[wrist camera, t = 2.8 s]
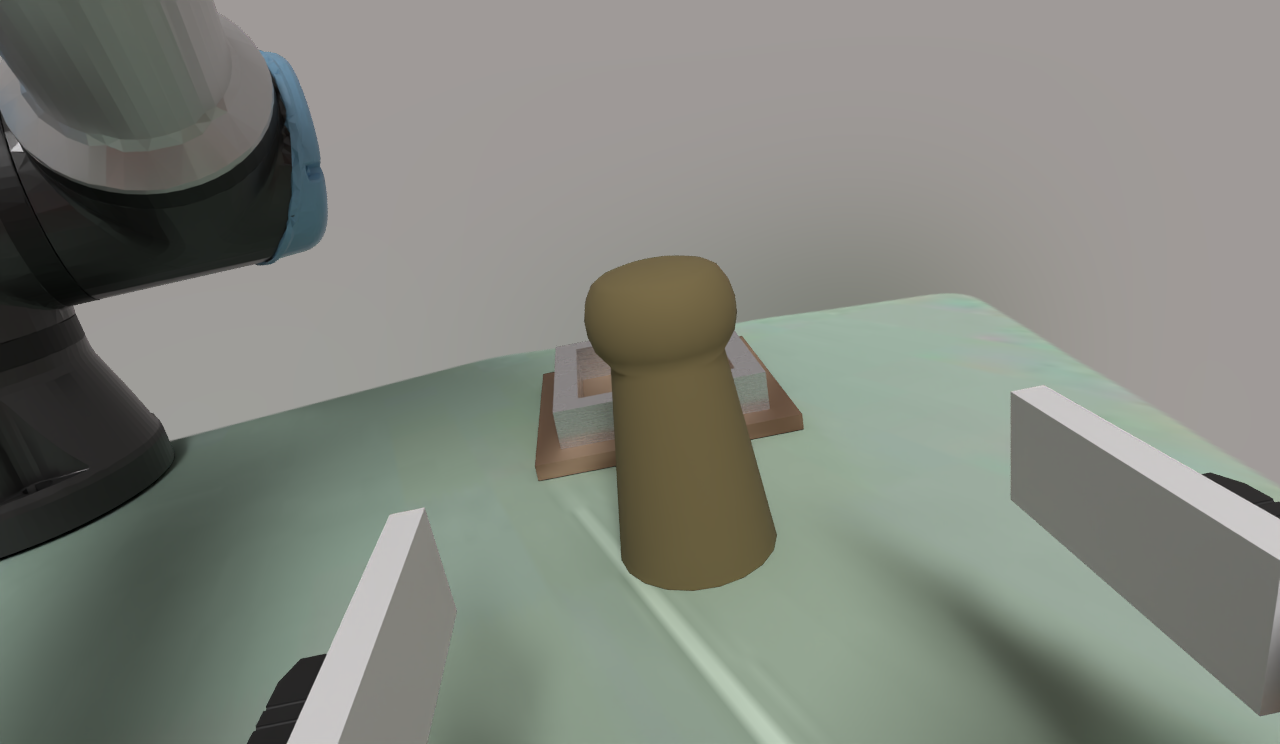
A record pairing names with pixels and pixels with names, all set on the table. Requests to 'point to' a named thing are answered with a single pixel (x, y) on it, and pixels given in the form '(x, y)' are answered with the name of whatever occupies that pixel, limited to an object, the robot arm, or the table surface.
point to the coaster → (584, 408)
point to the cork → (678, 424)
